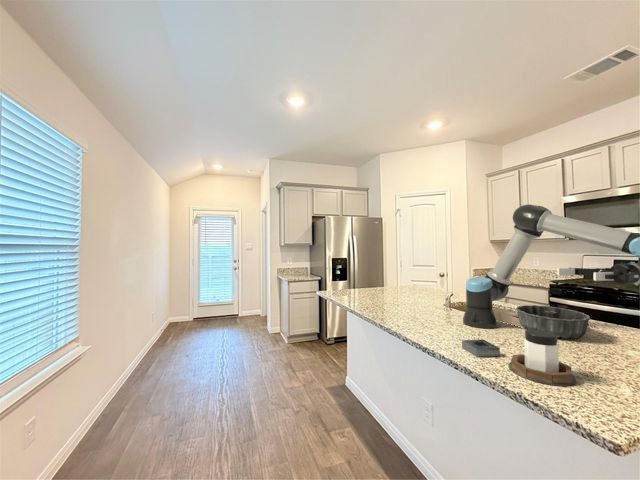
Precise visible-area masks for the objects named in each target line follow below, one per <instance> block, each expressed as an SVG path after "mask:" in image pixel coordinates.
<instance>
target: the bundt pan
mask: <svg viewBox="0 0 640 480" xmlns="http://www.w3.org/2000/svg"><path fill="white" fill-rule="evenodd" d="M515 310H516V312H517V316H518V321H519V324H520V325H521V326H522V327H523V329H525V331H526V330H541V331H546V332H550V333H553V334H555V335H556V336H557V339H558V338H560V337H561V338H560V339H562V338H564V339H563V340H566V339H570V338H571V340H572V339H577V338H582V337H584V336H585V335H586V333H587V329H588V325H589V321H591V316H590V315H588V314H585V313H584V312H580V311H577V310H573V309H567V308H563V307H555V306H549V305H535V304H531V305H529V304H524V305H519V306H517V307H515Z"/></svg>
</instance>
